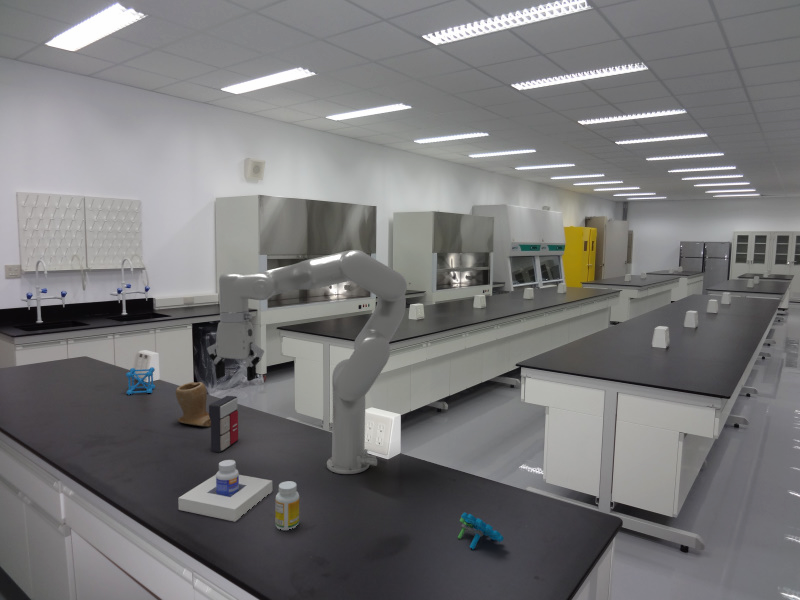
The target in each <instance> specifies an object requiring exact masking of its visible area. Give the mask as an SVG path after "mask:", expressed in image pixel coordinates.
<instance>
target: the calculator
mask: <svg viewBox="0 0 800 600" xmlns="http://www.w3.org/2000/svg"><path fill="white" fill-rule="evenodd" d="M208 413H209V417H210V419H211V426H210V446H211V448H210V451H211V452H212V453H221V452H223V451H224V450H226V449H227V448H228V447H230V446H231V445H233V444H235V443H236V442H237V441H238V440H239V410H238V396H234V395H226V396H224V397H222V398H219V399H218V400H216V401H214V402H211V403H210V404H209V405H208Z"/></svg>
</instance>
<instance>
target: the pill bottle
mask: <svg viewBox="0 0 800 600" xmlns="http://www.w3.org/2000/svg"><path fill="white" fill-rule="evenodd" d="M236 464H237V463H236V461H235V460H234V459H225V460H222V461H220V462H219V463H218V471H217V472H216V474H215V475H216V494H217V495H222V496H227V497H231V496H233V495H234V494H236V493H237V492H238V491H239V475H240V473H239V470H238V469H237V468H236V467H237V465H236Z"/></svg>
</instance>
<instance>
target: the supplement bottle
mask: <svg viewBox="0 0 800 600" xmlns="http://www.w3.org/2000/svg"><path fill="white" fill-rule="evenodd" d="M297 488H298V487H297V483H296V481H295V482H294V481H291V480H290V481H288V480H287V481H282V482H280V483H279V484H278V492H277V494H276V495H275V508H274V509H275V512H274V513H275V516H274V517H275V519H274V520H275V521H274V523H275V528H276V529H278V530H280V529H281V531H290V530H289V529H291V530H293V529H296V528H297V527H298V526H297V525H299V524H300V494H299V492H298V491H297ZM296 526H297V527H296ZM292 528H293V529H292Z"/></svg>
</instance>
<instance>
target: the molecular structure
mask: <svg viewBox="0 0 800 600" xmlns="http://www.w3.org/2000/svg"><path fill="white" fill-rule="evenodd" d="M155 370H156V369H155V367H152V366H151V367H149V368H148V369H147V368H146V369H144V368H143V369H136V368H134V367H132V368H130V369H129V371H128V372H126V374H125V376H126V377H127V378H128V379H127V380H128V390H127V391H126V395H127V394H128V396H131V395H133V394H138V393H139V394H142V393H144V394H145V393H146V394H147V393H151V394H153V390H155V388H156V385H155V384H154V373H155ZM136 372H141V373H136ZM143 372H144V373H143ZM145 372H146V373H145ZM139 376H143V377H142V378H141V377H139ZM145 379H147V382H146V381H145ZM135 380H136V381H137V383H136V384H135ZM139 385H142V386H139ZM136 389H146V390H136ZM135 390H136V391H135ZM130 394H131V395H130Z"/></svg>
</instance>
